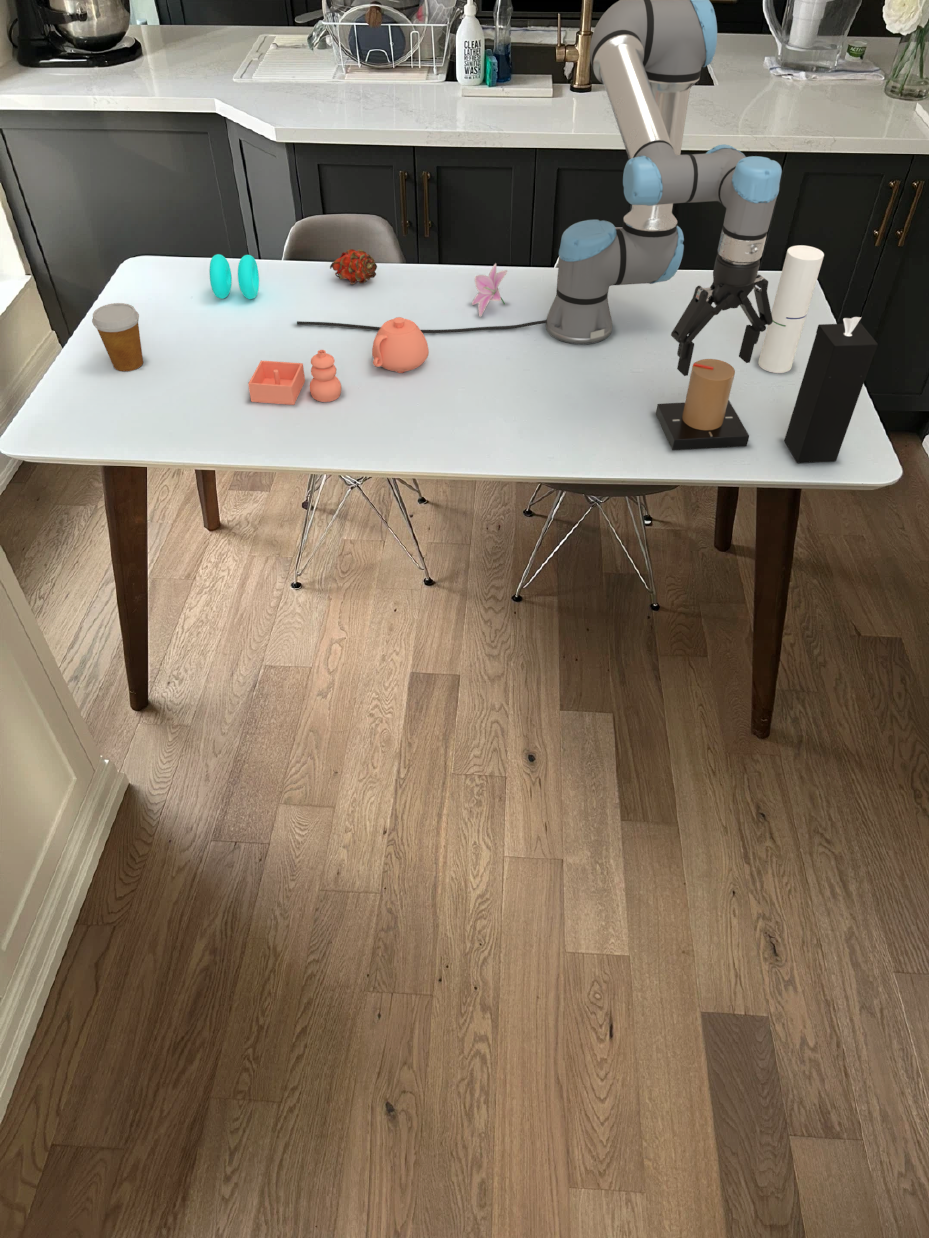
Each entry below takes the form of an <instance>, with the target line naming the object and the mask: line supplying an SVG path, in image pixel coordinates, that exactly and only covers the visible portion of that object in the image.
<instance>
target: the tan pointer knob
mask: <svg viewBox="0 0 929 1238" xmlns="http://www.w3.org/2000/svg"><path fill="white" fill-rule="evenodd" d="M735 374H736V370H735V368H734V366H732V365H731V364H730V363H728V362H726V361H724V360H721V359H716V358H702V359H699V360H696V361H695V362H693V364H692V366H691V371H690V375H689V376H690V377H689V381H688V385H687V391H686V395H685V396H686V397H685V400H684V402H685V405H684V410H683V415H682V419H683V421H684V422H685V423H686V424H687V425H688V426H690V427H692V428H695V429H699V430H714V429H717V428H719V427H720V426H721V425H722V424H723V420H724V416H725V412H726V408H727V403H728V400H730V395H731V391H732V387H733V383H734V379H735Z"/></svg>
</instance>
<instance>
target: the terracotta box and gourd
mask: <svg viewBox="0 0 929 1238" xmlns="http://www.w3.org/2000/svg"><path fill="white" fill-rule="evenodd" d="M335 363H336V362H335V358H334V356H333V355H332V354H330V353H328V352H327V351H326V350H325V349H319V350H317V353H316V354H314V355H313V356H312V357H311V358H310V365H311V368H310V373H311V376H312V377H313V378H312V379H311V381H310V383H309V391H310V392H309V393H310V394H311V397H312V398H313V400H315V401H317V402H321V403H330V402H334V401H336V400H337V399H339V398H340V397H341V393H342V383H341V381H340V378H338V377H337V376H336V374H337V367H336V365H335ZM305 382H306V378H305V370H304V363H303V362H289V361H275V360H274V361H273V360H260V361H259V362H258V365H257V366H256V369H255V371H253V374H252V375H251V377H250V379H249V382H248V384H247V385H248V391H249V397H250V401H251V403H260V404H261V403H262V404H275V405H276V404H277V405H290V406H295V404H296V402H297V400H298V398H299V396H300V393H301V391H302V389H303V388H304V385H305Z"/></svg>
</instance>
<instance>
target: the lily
mask: <svg viewBox="0 0 929 1238" xmlns="http://www.w3.org/2000/svg"><path fill="white" fill-rule="evenodd" d="M507 274H508V270H507V269H504V270H501V271H498V272H497V263H496V262H495V263H494V264H493V266H492V267H491V269H490V271H489V273H488V275H485V274H476V275H475V276H474V284H475V288H476V290H477V291H478V293H477V294H476V295H475V297H474V299H473V300H472V302H471V305H472V306H473V305H476V304H477V305H478V307H477V308H478V317H479V318H481V317H482V316H483V314H484V312H485V310H486V308H487V306H488V304H489V302H490V301H492V302H502V303H503V305H506V303H505V301H504V299H503V298H502V296H501V293H500V289H499V285H500V284H501V283H502V281H503V279H504V278H505V276H506V275H507Z"/></svg>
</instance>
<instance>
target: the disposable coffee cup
mask: <svg viewBox="0 0 929 1238" xmlns="http://www.w3.org/2000/svg"><path fill="white" fill-rule="evenodd" d="M139 319H140V314H139V312H138V311H137V310H136V308H135V307H134V306H133V305H132V304H129V303H125V302H124V303H123V302H113V303H107V304H104V305H102V306H99V307H98V308H96V309H95V310H94V311H93V313H92V319H91V323H92V325H93V326H94V327H95V329H96V330H97V332H98V335H99V337H100V339H101V342H102V344H103V346H104V348H105V351H106V352H107V355H108V357H109V359H110V362H111V364H112V366H113V369H114V370H117V371H119V372H131V371H135V370H138V369H139V368H141V367H142V366H143V364H144V358H143V351H142V350H143V349H142V342H141V334H140V326H139Z"/></svg>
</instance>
